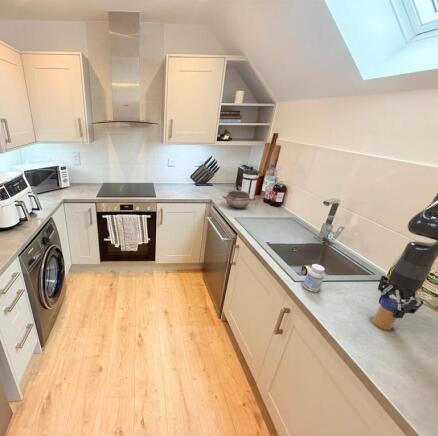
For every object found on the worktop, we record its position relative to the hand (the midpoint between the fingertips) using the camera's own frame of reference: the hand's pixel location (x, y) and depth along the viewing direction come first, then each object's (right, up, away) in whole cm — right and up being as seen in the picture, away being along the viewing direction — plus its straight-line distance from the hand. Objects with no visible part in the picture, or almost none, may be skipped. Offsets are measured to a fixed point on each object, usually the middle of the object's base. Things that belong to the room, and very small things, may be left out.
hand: (389, 310), depth 85 cm
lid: (0, +3, -1) cm, 3 cm away
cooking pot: (-12, +43, +114) cm, 122 cm away
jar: (0, -6, +3) cm, 7 cm away
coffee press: (+4, +51, +135) cm, 144 cm away
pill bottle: (-14, +2, +21) cm, 25 cm away
